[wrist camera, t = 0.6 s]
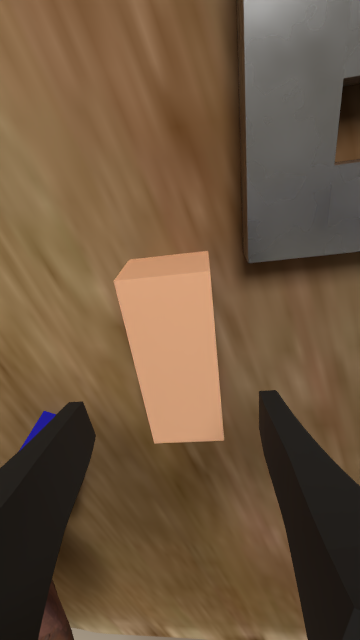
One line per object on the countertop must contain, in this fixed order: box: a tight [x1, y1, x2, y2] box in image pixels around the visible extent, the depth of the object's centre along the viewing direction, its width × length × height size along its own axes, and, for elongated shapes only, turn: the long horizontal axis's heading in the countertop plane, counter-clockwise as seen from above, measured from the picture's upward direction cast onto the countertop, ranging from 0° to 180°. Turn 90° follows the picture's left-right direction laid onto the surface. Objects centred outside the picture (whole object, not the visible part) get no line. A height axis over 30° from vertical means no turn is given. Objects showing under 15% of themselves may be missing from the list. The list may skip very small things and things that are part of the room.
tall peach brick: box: [114, 251, 224, 443], centre depth 17 cm, size 4×10×6 cm, turn 7°
